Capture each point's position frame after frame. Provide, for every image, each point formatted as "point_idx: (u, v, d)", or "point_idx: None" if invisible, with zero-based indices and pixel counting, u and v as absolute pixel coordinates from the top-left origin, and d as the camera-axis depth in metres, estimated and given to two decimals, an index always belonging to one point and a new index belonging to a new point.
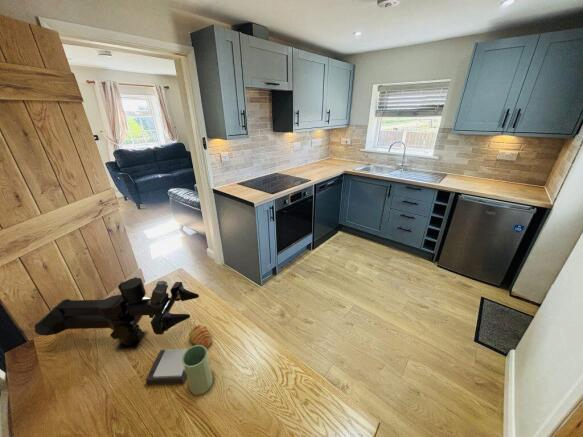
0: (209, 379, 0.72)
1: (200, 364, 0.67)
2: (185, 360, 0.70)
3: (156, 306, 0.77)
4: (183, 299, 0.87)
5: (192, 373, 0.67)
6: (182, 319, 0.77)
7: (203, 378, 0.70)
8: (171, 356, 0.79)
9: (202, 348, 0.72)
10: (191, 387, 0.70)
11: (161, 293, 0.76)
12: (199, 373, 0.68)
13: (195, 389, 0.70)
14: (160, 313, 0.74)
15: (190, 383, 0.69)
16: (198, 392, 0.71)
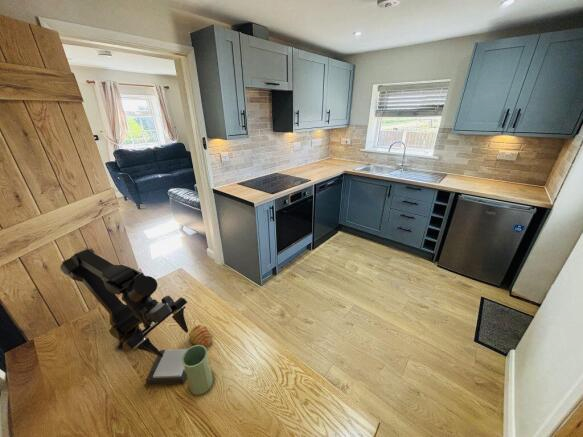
0: (209, 379, 0.72)
1: (200, 364, 0.67)
2: (185, 360, 0.70)
3: (145, 320, 0.68)
4: (174, 318, 0.77)
5: (192, 373, 0.67)
6: (154, 353, 0.68)
7: (203, 378, 0.70)
8: (171, 356, 0.79)
9: (202, 348, 0.72)
10: (191, 387, 0.70)
11: (159, 320, 0.66)
12: (199, 373, 0.68)
13: (195, 389, 0.70)
14: (141, 337, 0.65)
15: (190, 383, 0.69)
16: (198, 392, 0.71)
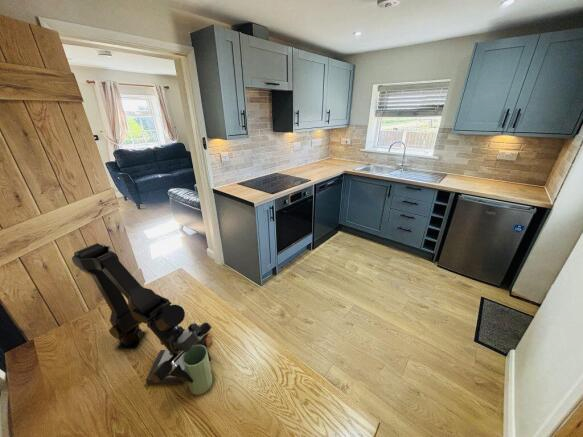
0: (209, 379, 0.72)
1: (200, 364, 0.67)
2: (185, 359, 0.70)
3: (173, 349, 0.67)
4: None
5: (192, 373, 0.67)
6: (184, 379, 0.68)
7: (203, 377, 0.69)
8: (171, 356, 0.79)
9: (202, 348, 0.72)
10: (191, 387, 0.70)
11: (187, 350, 0.65)
12: (199, 373, 0.68)
13: (195, 389, 0.70)
14: (170, 368, 0.64)
15: (190, 383, 0.69)
16: (198, 392, 0.71)
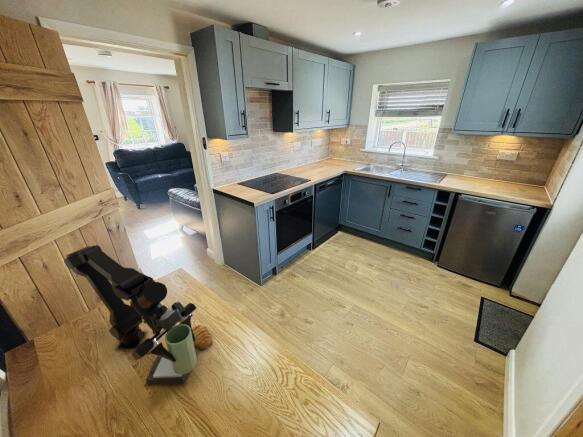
0: (193, 359, 0.71)
1: (183, 342, 0.66)
2: (168, 339, 0.69)
3: (155, 327, 0.66)
4: None
5: (175, 351, 0.66)
6: (166, 358, 0.67)
7: (187, 357, 0.68)
8: None
9: (186, 327, 0.71)
10: (174, 366, 0.69)
11: (169, 327, 0.64)
12: (182, 352, 0.67)
13: (178, 368, 0.69)
14: (151, 345, 0.63)
15: (173, 362, 0.68)
16: (181, 372, 0.70)
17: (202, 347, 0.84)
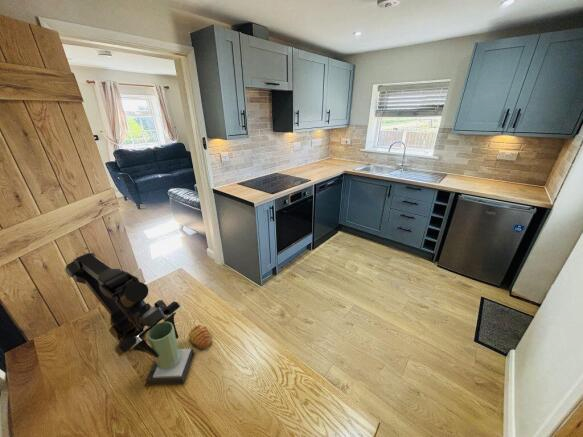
0: (175, 355, 0.74)
1: (165, 338, 0.69)
2: (152, 335, 0.72)
3: (138, 324, 0.69)
4: None
5: (157, 347, 0.69)
6: (149, 354, 0.70)
7: (169, 353, 0.72)
8: None
9: (169, 325, 0.74)
10: (157, 362, 0.72)
11: (151, 324, 0.67)
12: (164, 348, 0.70)
13: (161, 364, 0.72)
14: (134, 341, 0.66)
15: (156, 358, 0.71)
16: (164, 367, 0.73)
17: (202, 347, 0.84)
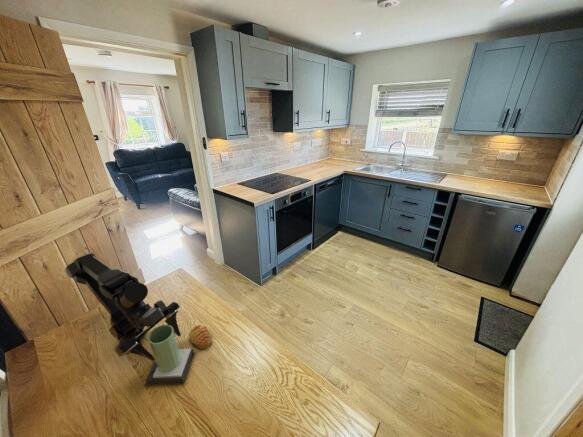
0: (176, 358, 0.75)
1: (165, 342, 0.70)
2: (152, 338, 0.72)
3: (138, 325, 0.69)
4: (167, 322, 0.78)
5: (157, 350, 0.70)
6: (146, 357, 0.69)
7: (169, 356, 0.72)
8: None
9: (169, 328, 0.74)
10: (158, 365, 0.73)
11: (151, 325, 0.67)
12: (164, 351, 0.70)
13: (162, 367, 0.73)
14: (134, 341, 0.66)
15: (157, 361, 0.72)
16: (165, 370, 0.73)
17: (202, 347, 0.84)
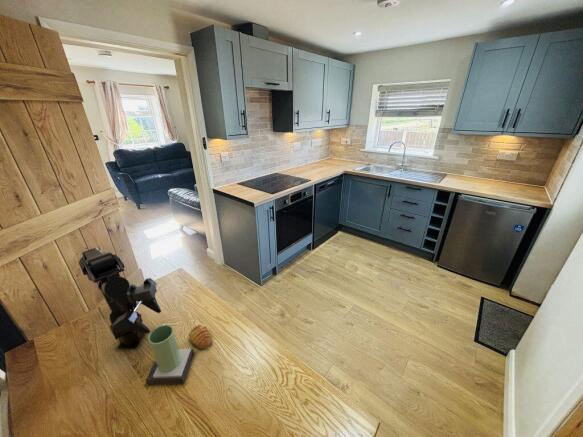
0: (176, 358, 0.75)
1: (165, 342, 0.70)
2: (152, 338, 0.72)
3: (132, 302, 0.73)
4: (143, 303, 0.82)
5: (157, 350, 0.70)
6: (141, 331, 0.74)
7: (169, 356, 0.72)
8: None
9: (169, 328, 0.74)
10: (158, 365, 0.73)
11: (151, 297, 0.74)
12: (164, 351, 0.70)
13: (162, 367, 0.73)
14: (135, 315, 0.71)
15: (157, 361, 0.72)
16: (165, 370, 0.73)
17: (202, 347, 0.84)
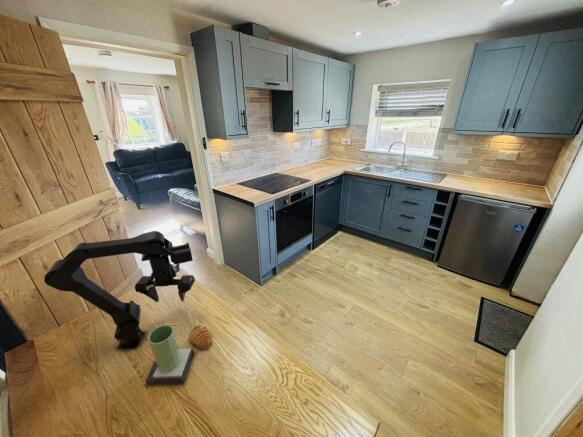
0: (176, 358, 0.75)
1: (165, 342, 0.70)
2: (152, 338, 0.72)
3: (175, 272, 0.86)
4: (150, 292, 0.84)
5: (157, 350, 0.70)
6: (183, 297, 0.87)
7: (169, 356, 0.72)
8: None
9: (169, 328, 0.74)
10: (158, 365, 0.73)
11: None
12: (164, 351, 0.70)
13: (162, 367, 0.73)
14: None
15: (157, 361, 0.72)
16: (165, 370, 0.73)
17: (202, 347, 0.84)
